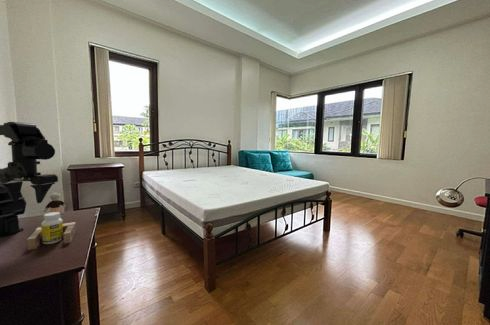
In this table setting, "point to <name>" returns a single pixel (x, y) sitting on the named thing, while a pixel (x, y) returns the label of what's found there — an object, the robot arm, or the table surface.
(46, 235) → the supplement bottle
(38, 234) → the notched board
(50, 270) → the table surface
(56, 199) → the grandmother figurine
